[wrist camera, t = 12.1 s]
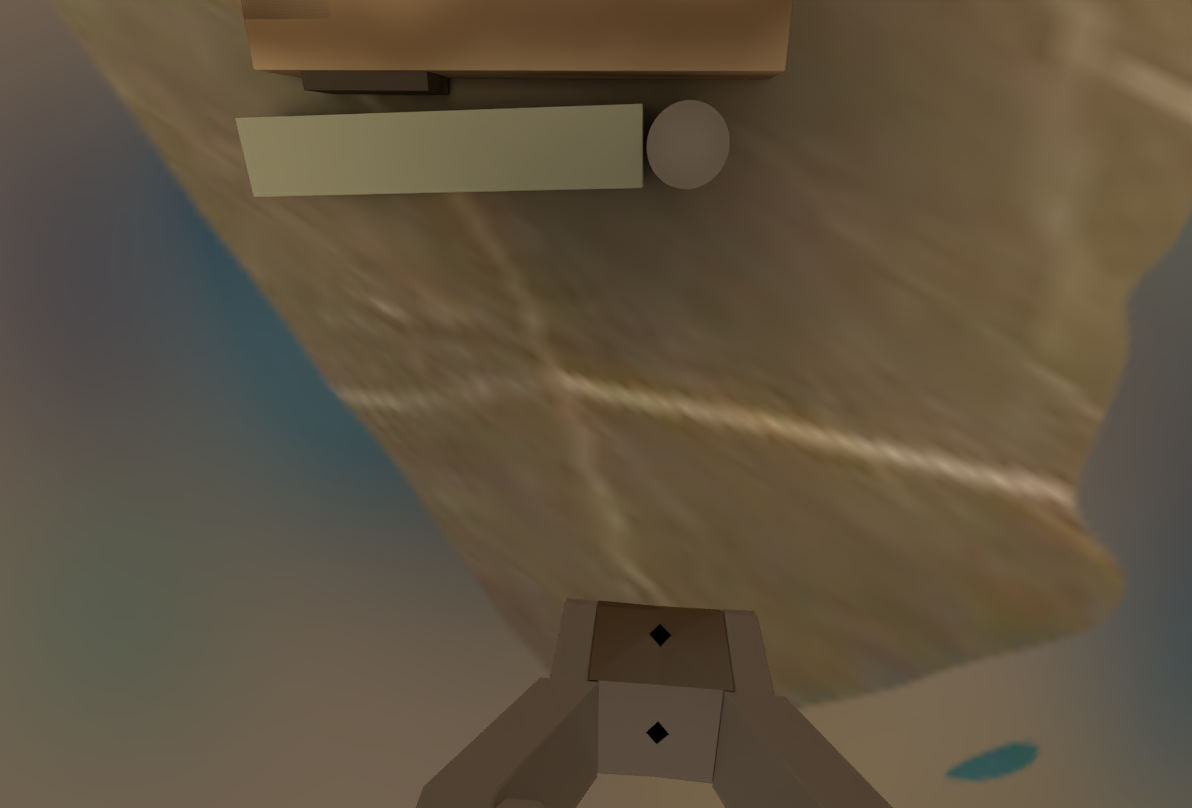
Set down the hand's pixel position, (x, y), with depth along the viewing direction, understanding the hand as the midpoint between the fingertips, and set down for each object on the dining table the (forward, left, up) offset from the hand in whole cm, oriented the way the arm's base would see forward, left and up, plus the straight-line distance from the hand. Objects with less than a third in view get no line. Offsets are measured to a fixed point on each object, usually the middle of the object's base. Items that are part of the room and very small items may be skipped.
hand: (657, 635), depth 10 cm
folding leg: (-7, -8, -27) cm, 29 cm away
